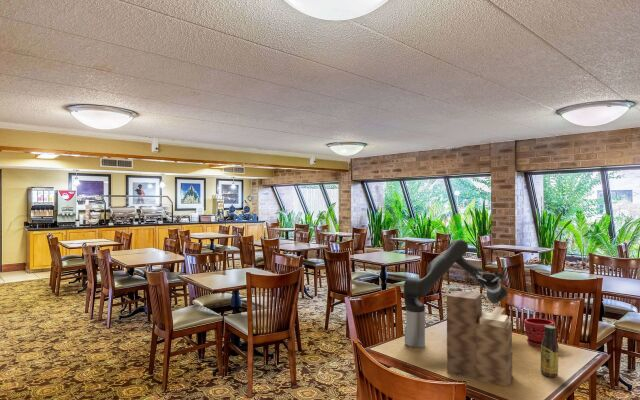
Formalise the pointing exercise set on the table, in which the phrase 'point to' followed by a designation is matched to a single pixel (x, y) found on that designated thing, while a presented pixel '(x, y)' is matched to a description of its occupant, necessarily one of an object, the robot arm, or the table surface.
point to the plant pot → (536, 330)
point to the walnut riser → (476, 341)
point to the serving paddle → (495, 318)
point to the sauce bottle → (549, 353)
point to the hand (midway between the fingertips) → (485, 270)
